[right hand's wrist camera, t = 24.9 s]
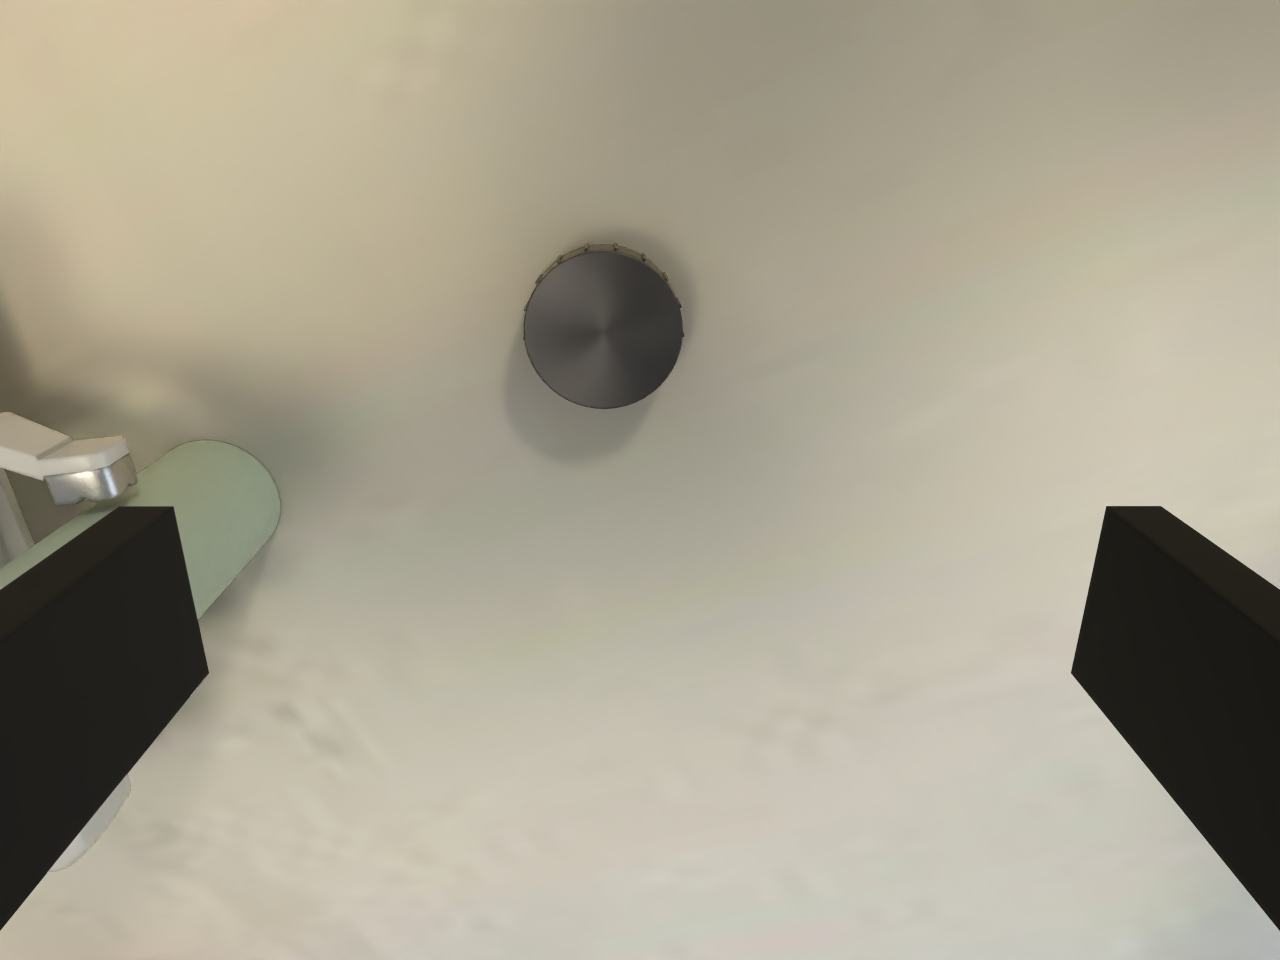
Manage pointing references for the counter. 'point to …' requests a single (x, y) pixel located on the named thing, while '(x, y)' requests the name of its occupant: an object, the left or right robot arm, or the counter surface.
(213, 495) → the jar
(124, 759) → the right robot arm
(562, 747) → the counter surface
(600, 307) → the lid
